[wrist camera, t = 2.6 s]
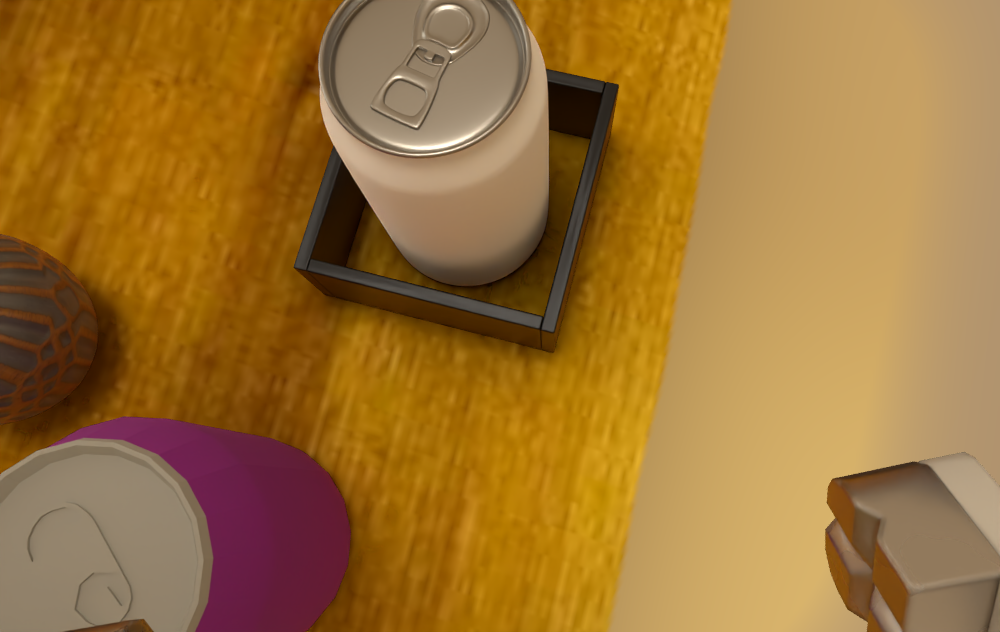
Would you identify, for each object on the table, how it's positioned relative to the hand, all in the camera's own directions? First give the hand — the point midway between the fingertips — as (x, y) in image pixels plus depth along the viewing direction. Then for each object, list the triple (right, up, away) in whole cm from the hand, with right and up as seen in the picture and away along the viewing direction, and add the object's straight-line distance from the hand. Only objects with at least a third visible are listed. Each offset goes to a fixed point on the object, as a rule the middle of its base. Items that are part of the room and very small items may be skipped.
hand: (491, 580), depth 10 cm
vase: (-18, +2, +23) cm, 30 cm away
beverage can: (-9, -5, +21) cm, 24 cm away
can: (-1, +7, +23) cm, 24 cm away
